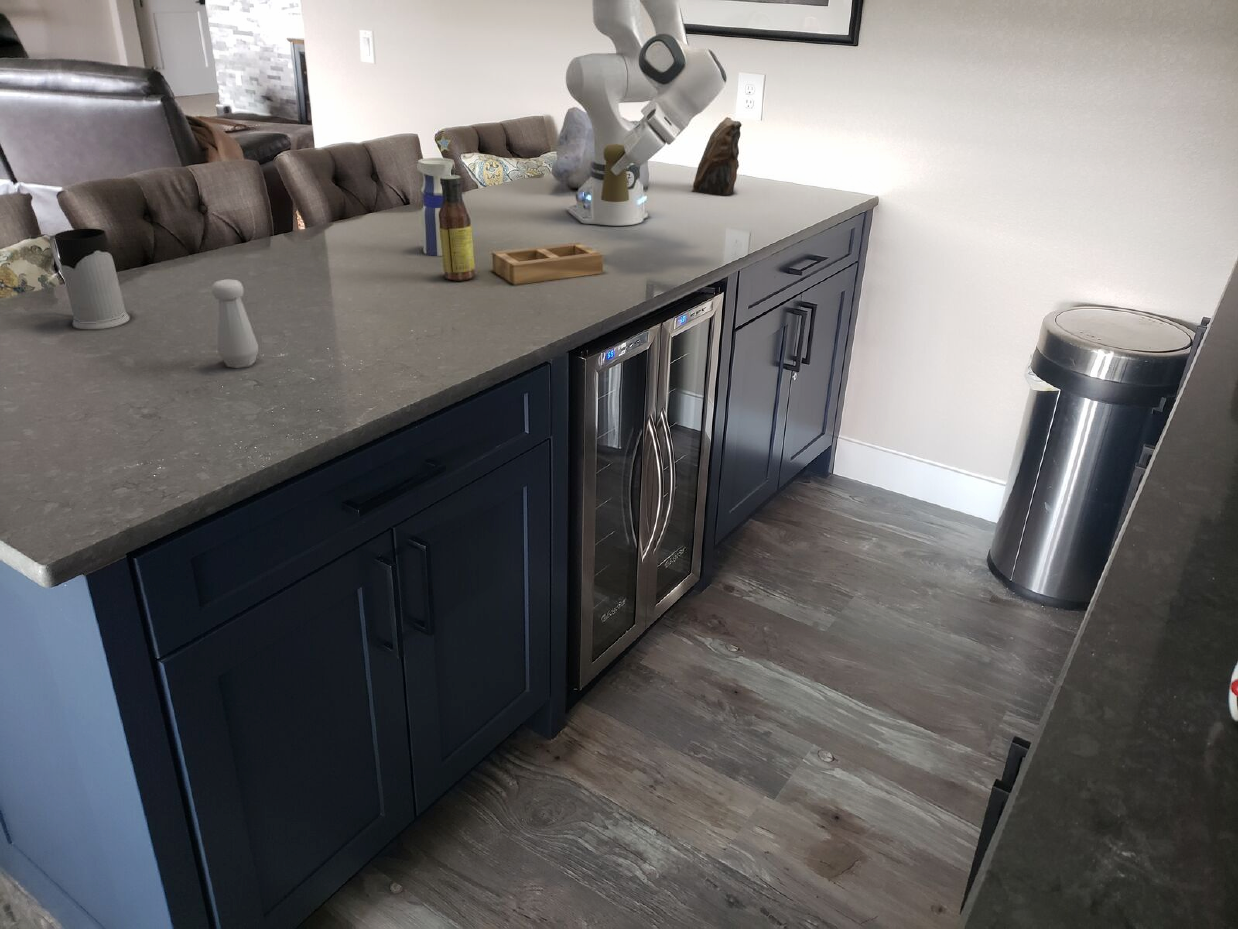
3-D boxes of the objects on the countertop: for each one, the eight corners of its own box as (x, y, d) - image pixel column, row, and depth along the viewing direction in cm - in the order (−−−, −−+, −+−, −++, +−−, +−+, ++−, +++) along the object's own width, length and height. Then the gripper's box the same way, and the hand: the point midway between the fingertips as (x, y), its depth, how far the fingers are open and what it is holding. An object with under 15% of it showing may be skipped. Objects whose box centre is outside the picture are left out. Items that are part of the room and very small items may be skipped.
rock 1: (547, 210, 266) (547, 155, 283) (650, 220, 271) (644, 166, 287) (556, 140, 248) (555, 86, 265) (665, 153, 253) (658, 98, 270)
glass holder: (91, 332, 154) (69, 243, 147) (44, 316, 161) (20, 230, 154) (140, 319, 161) (120, 232, 154) (92, 304, 167) (71, 220, 161)
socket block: (492, 271, 193) (492, 251, 191) (578, 260, 201) (578, 242, 200) (514, 285, 184) (513, 265, 182) (602, 273, 193) (603, 254, 191)
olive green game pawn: (626, 202, 194) (627, 147, 189) (598, 200, 195) (598, 146, 190) (631, 196, 199) (633, 143, 194) (604, 195, 200) (604, 141, 195)
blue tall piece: (468, 249, 208) (462, 131, 196) (446, 257, 201) (439, 136, 189) (438, 244, 211) (430, 128, 199) (415, 252, 204) (406, 133, 192)
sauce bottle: (480, 275, 190) (475, 175, 180) (466, 283, 184) (460, 180, 175) (451, 271, 191) (445, 172, 182) (436, 279, 186) (429, 177, 177)
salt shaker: (227, 356, 146) (212, 275, 140) (264, 356, 147) (251, 275, 141) (216, 370, 141) (200, 286, 135) (254, 369, 142) (240, 286, 136)
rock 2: (718, 185, 280) (723, 115, 270) (751, 192, 272) (757, 120, 262) (690, 190, 272) (694, 118, 262) (723, 198, 264) (728, 123, 255)
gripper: (646, 103, 198) (600, 150, 202) (654, 116, 180) (603, 167, 184) (666, 125, 201) (620, 171, 205) (676, 140, 182) (625, 190, 186)
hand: (612, 169), depth 194 cm, fingers closed on olive green game pawn, 4 cm apart
